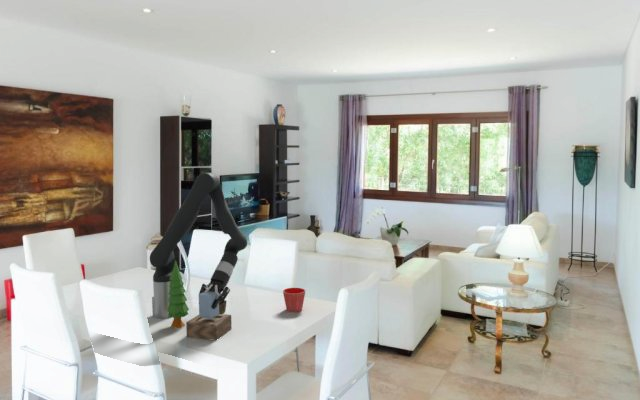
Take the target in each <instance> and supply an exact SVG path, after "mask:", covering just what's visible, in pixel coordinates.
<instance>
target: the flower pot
mask: <svg viewBox="0 0 640 400" xmlns="http://www.w3.org/2000/svg"><path fill="white" fill-rule="evenodd" d="M282 294H283V300H284V304H285V309H286V311H288V312H293V313H294V312H296V313H297V312H301V311H302V310H303V306H304V302H305V295H306V290H305V288H301V287H289V288H288V287H287V288H285V289H283V290H282Z"/></svg>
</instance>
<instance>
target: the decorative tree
mask: <svg viewBox="0 0 640 400" xmlns="http://www.w3.org/2000/svg"><path fill="white" fill-rule="evenodd" d="M169 280H171V281H170V285H169V288H170V291H169V295H170V298H169V300H168V301H169V302H170V304H169V306H168V309H167V312H169V314H168V318H173V321H172V322H171V327H172V328H173V329H181V328H183V327H185V326H186V323H184V322H183V321H182V318H184V317H186V316H189V313H188V311H190V309H189V306H188V305H187V303H186V301H187V300H188V299H187V297H186V295H185V294H186V289H185V287H184V285H185V284H184V281H183V277H182V275H181V272H180V269H179V266H178V262H177V260H176V259H175V265H174V268H173V271H172V274H171V276H170V278H169Z"/></svg>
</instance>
